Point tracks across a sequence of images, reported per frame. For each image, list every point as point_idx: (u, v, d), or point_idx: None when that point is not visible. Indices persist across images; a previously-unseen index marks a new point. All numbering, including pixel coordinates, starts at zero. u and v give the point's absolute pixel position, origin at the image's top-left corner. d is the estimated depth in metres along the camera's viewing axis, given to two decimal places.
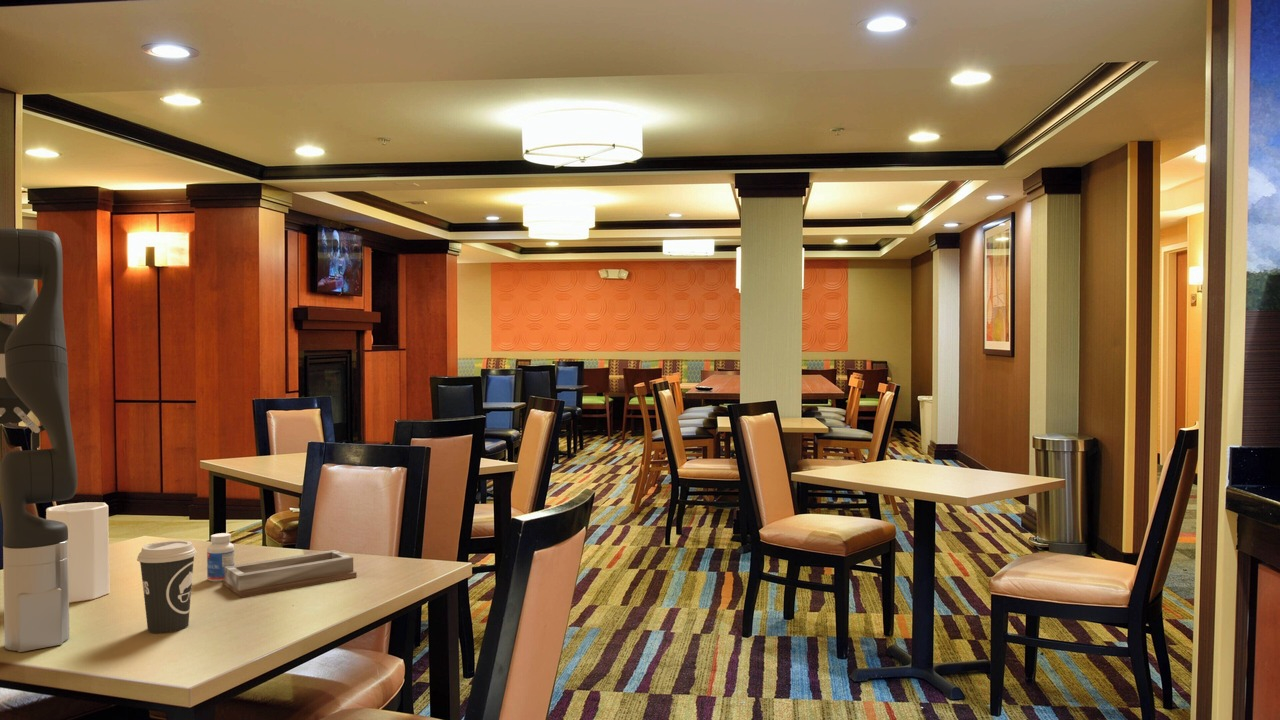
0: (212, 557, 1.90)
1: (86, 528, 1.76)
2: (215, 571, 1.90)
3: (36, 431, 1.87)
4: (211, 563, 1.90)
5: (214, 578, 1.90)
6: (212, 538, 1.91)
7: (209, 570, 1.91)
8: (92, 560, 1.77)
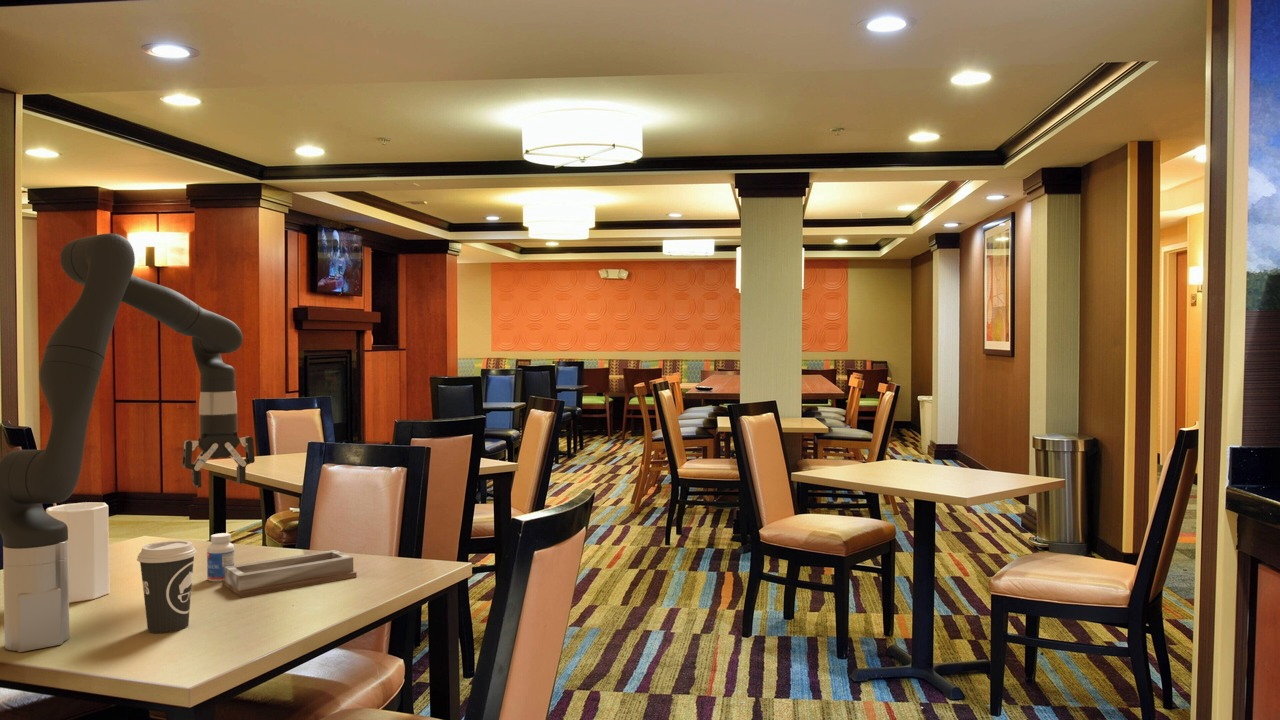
0: (212, 557, 1.90)
1: (86, 528, 1.76)
2: (215, 571, 1.90)
3: (243, 465, 1.95)
4: (211, 563, 1.90)
5: (214, 578, 1.90)
6: (212, 538, 1.91)
7: (209, 570, 1.91)
8: (92, 560, 1.77)
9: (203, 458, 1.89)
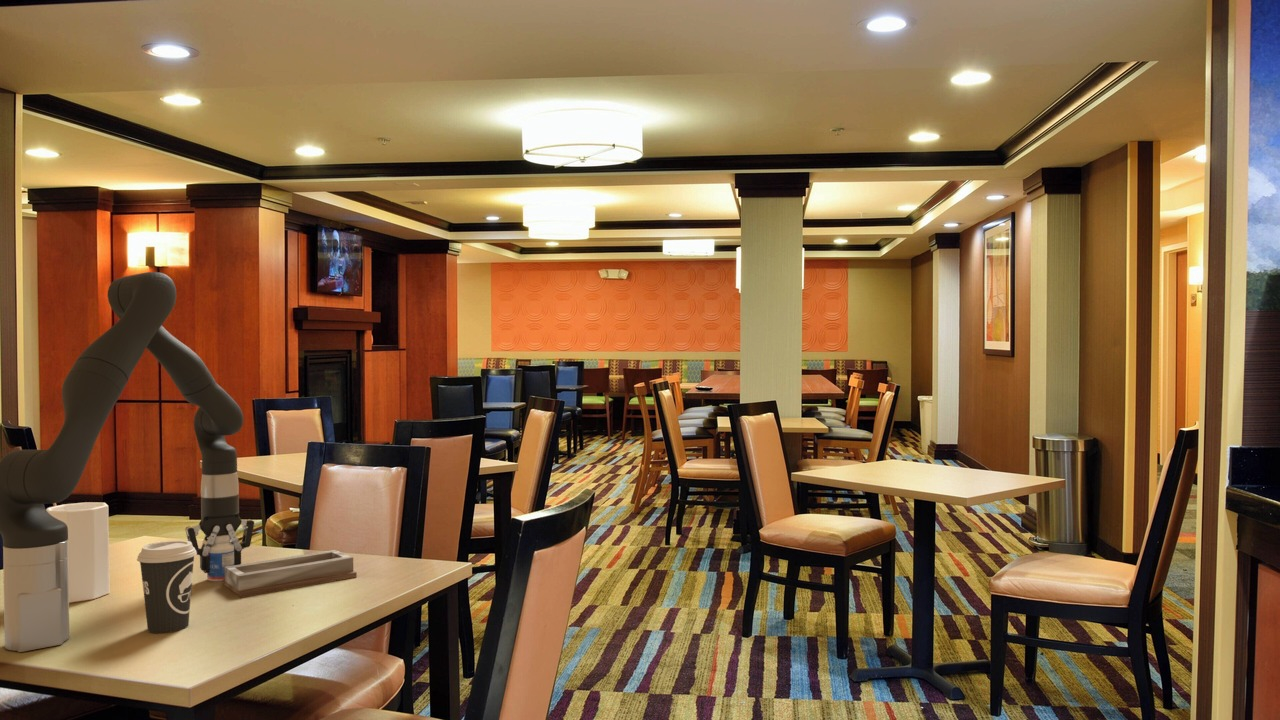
0: (212, 557, 1.90)
1: (86, 528, 1.76)
2: (215, 571, 1.90)
3: (238, 549, 1.94)
4: (211, 563, 1.90)
5: (214, 578, 1.90)
6: None
7: (209, 570, 1.91)
8: (92, 560, 1.77)
9: (208, 543, 1.90)
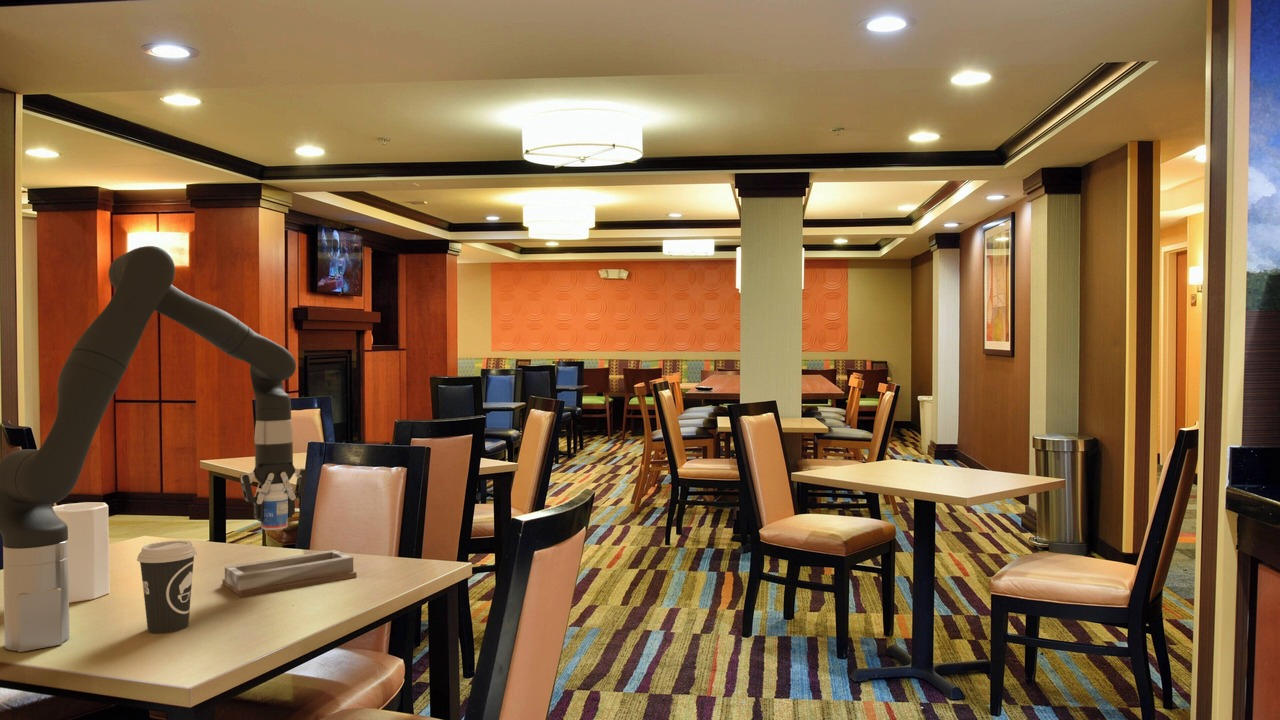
0: (267, 505, 1.86)
1: (86, 528, 1.76)
2: (269, 520, 1.86)
3: (292, 498, 1.90)
4: (266, 511, 1.86)
5: (268, 526, 1.86)
6: None
7: None
8: (92, 560, 1.77)
9: (263, 490, 1.86)
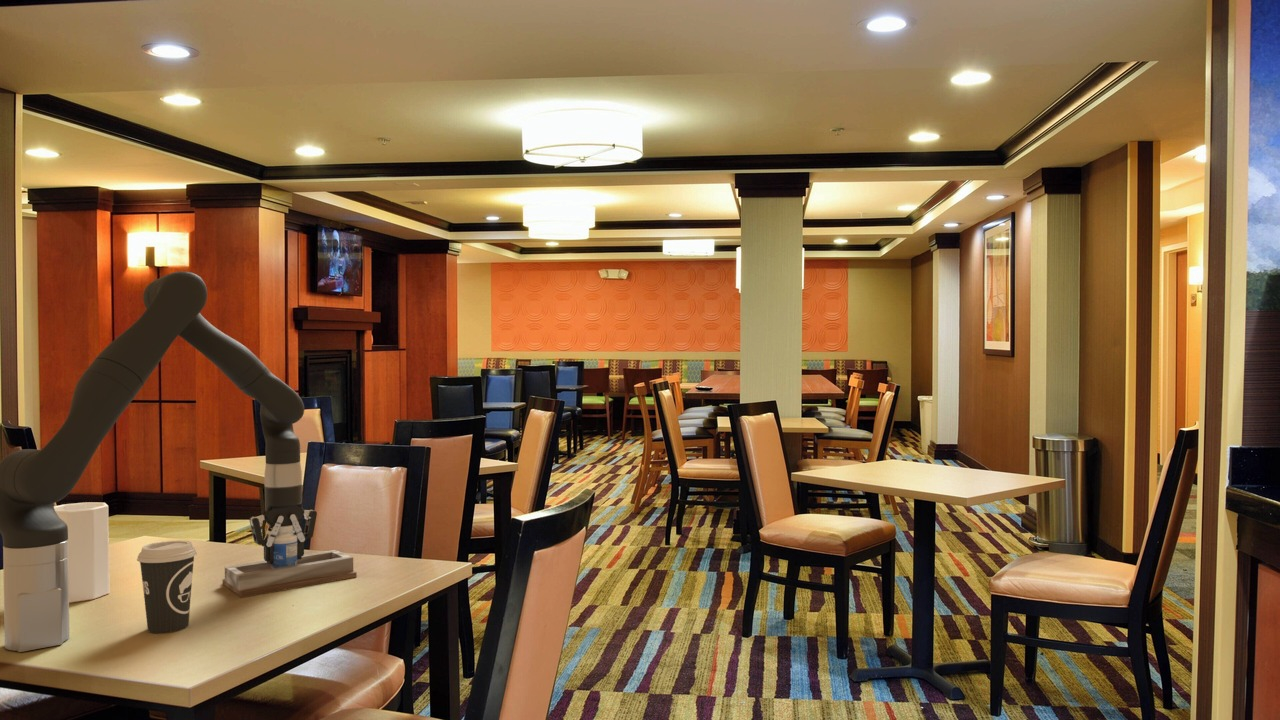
0: (276, 547, 1.87)
1: (86, 528, 1.76)
2: (279, 562, 1.87)
3: (301, 540, 1.91)
4: (275, 554, 1.88)
5: None
6: None
7: (273, 561, 1.88)
8: (92, 560, 1.77)
9: (272, 533, 1.87)
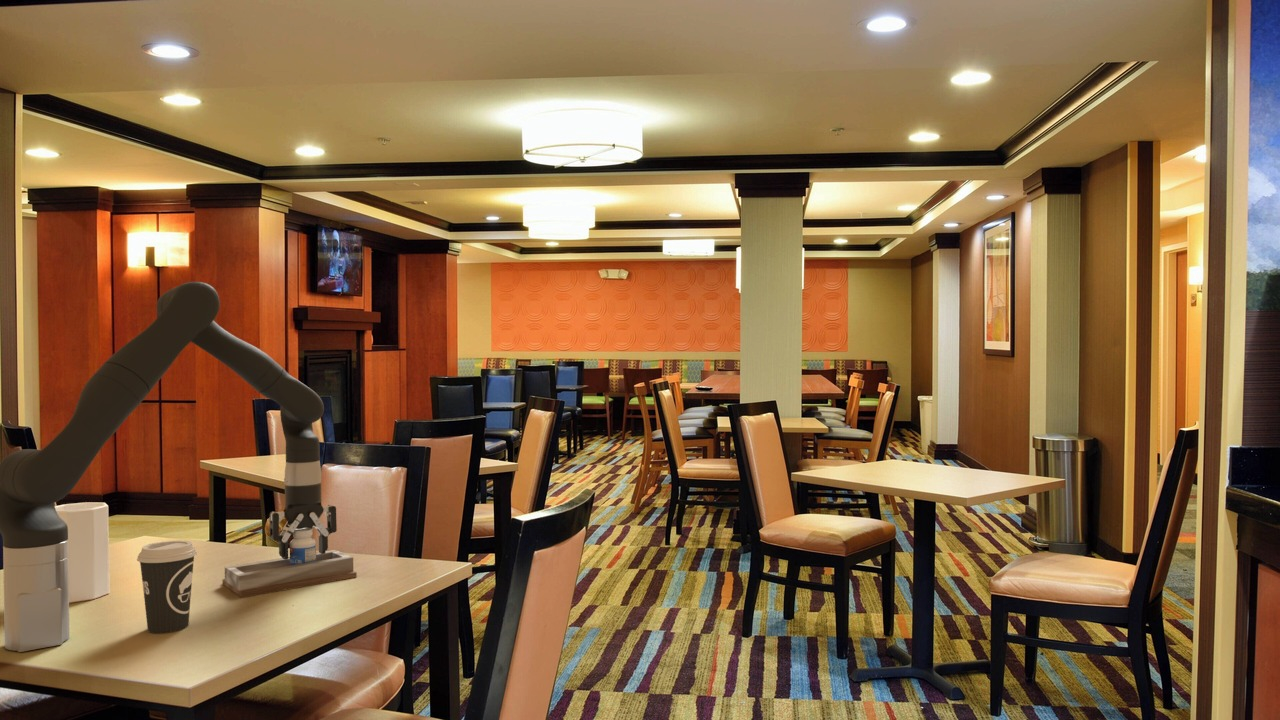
0: (295, 551, 1.90)
1: (86, 528, 1.76)
2: None
3: (325, 535, 1.95)
4: (295, 558, 1.90)
5: None
6: (295, 533, 1.91)
7: None
8: (92, 560, 1.77)
9: (290, 529, 1.89)
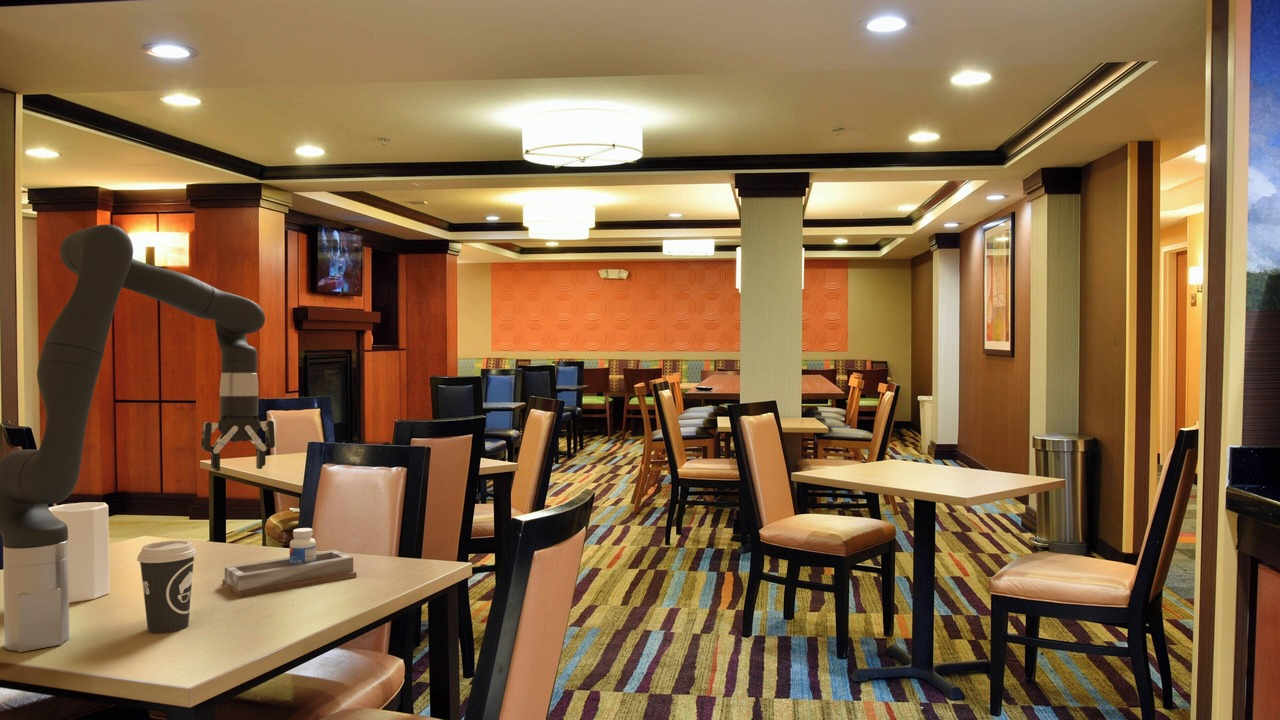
0: (295, 551, 1.90)
1: (86, 528, 1.76)
2: None
3: (263, 449, 1.89)
4: (295, 558, 1.90)
5: None
6: (295, 533, 1.91)
7: None
8: (92, 560, 1.77)
9: (222, 440, 1.84)
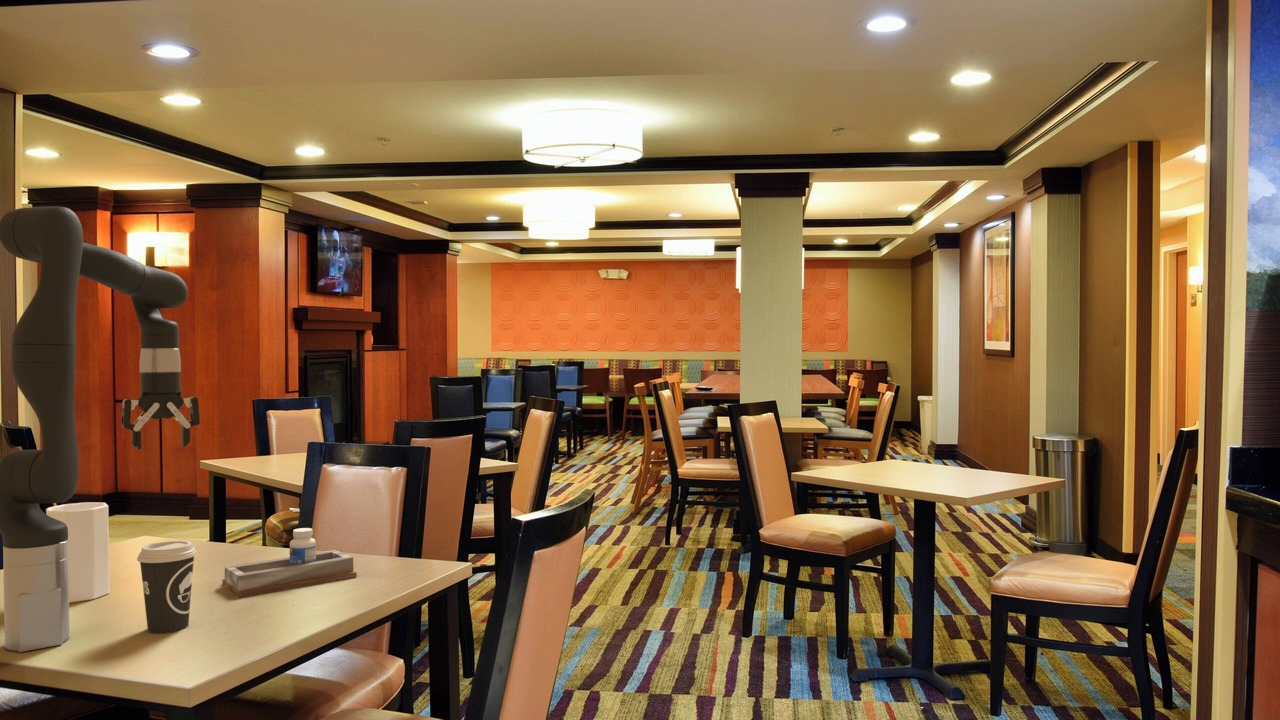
0: (295, 551, 1.90)
1: (86, 528, 1.76)
2: None
3: (187, 426, 1.85)
4: (295, 558, 1.90)
5: None
6: (295, 533, 1.91)
7: None
8: (92, 560, 1.77)
9: (143, 418, 1.79)
